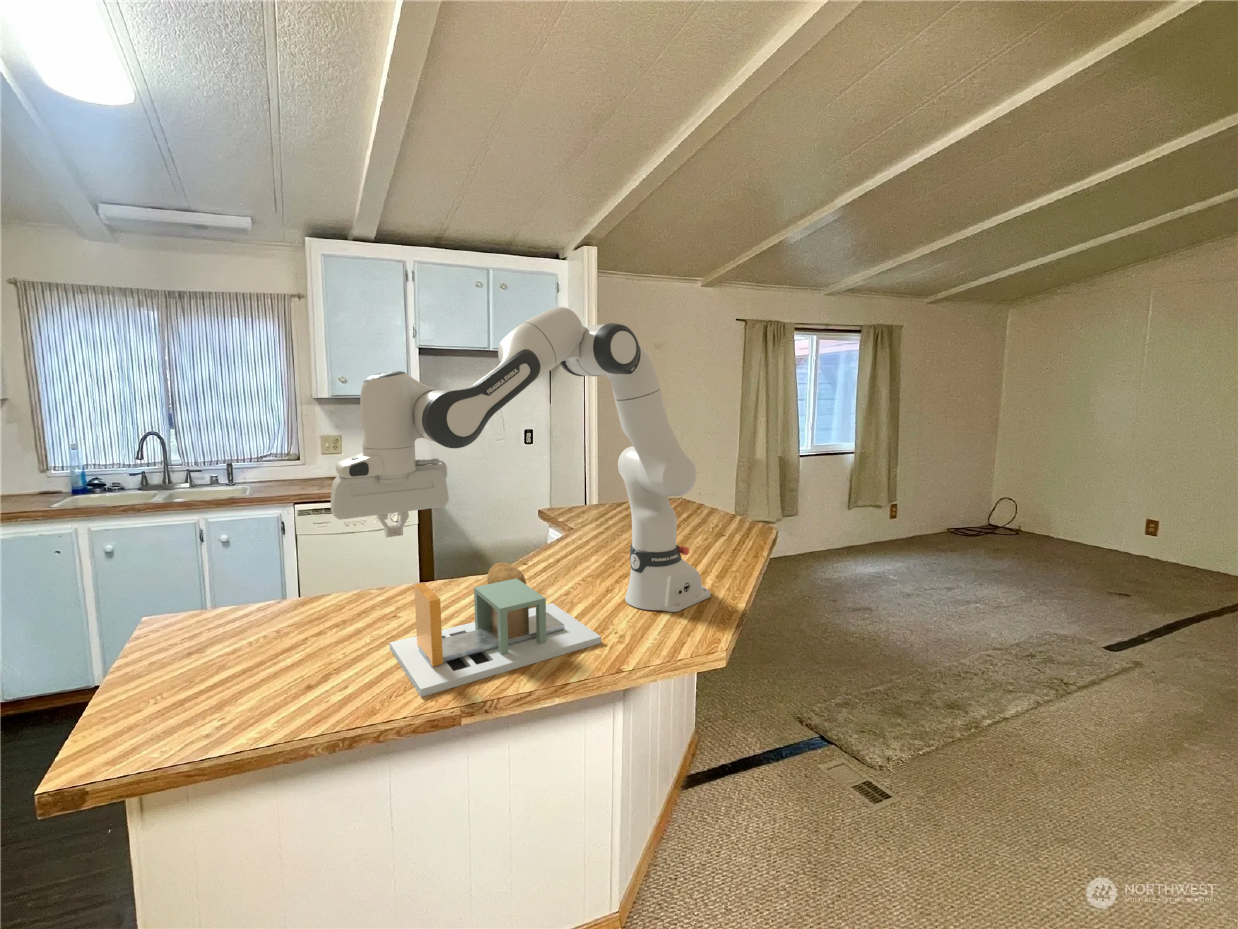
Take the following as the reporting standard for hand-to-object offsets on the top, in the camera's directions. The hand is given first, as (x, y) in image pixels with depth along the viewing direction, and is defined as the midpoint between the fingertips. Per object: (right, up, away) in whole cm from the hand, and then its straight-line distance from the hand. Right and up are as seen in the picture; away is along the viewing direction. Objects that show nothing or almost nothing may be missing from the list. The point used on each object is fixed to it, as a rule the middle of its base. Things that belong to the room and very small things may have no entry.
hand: (393, 536), depth 110 cm
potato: (+13, -21, +42) cm, 49 cm away
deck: (+16, -25, +15) cm, 33 cm away
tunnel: (+18, -23, +17) cm, 34 cm away
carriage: (+16, -23, +15) cm, 32 cm away
